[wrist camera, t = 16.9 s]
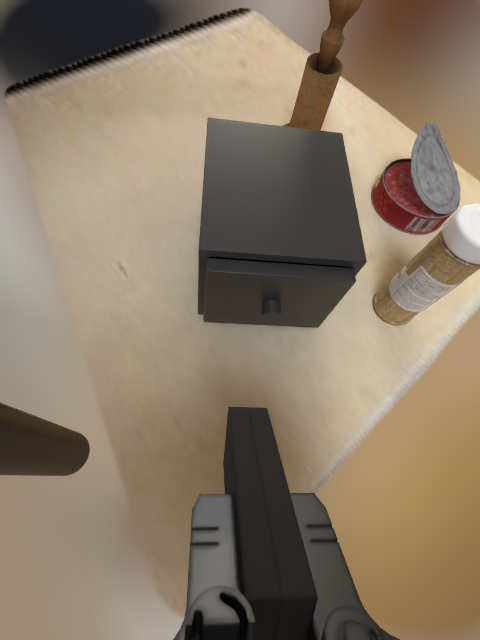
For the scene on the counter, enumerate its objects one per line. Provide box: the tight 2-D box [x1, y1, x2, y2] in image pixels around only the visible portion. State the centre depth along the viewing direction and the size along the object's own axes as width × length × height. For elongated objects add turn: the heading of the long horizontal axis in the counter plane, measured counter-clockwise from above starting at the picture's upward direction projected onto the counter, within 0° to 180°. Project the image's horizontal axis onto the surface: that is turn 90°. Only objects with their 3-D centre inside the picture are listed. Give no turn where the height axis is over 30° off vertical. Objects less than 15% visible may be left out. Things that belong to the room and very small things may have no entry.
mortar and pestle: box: [283, 0, 362, 131], centre depth 37 cm, size 7×6×18 cm
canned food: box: [372, 123, 460, 234], centre depth 41 cm, size 11×10×10 cm
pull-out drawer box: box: [204, 257, 356, 327], centre depth 31 cm, size 15×11×9 cm
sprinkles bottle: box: [374, 204, 480, 325], centre depth 30 cm, size 5×5×13 cm
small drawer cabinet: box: [198, 118, 367, 314], centre depth 32 cm, size 15×13×11 cm
